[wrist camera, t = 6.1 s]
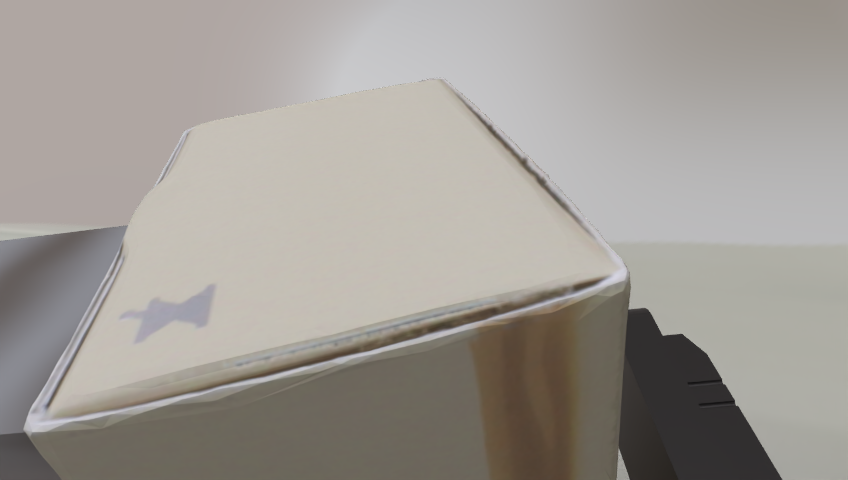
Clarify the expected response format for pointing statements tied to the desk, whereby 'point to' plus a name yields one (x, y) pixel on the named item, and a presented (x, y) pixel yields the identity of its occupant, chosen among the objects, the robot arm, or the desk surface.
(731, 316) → the desk surface
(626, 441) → the robot arm
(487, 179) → the skincare box
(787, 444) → the desk surface
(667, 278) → the desk surface
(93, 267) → the metal plate on wood
